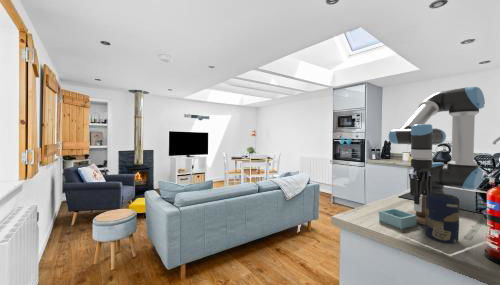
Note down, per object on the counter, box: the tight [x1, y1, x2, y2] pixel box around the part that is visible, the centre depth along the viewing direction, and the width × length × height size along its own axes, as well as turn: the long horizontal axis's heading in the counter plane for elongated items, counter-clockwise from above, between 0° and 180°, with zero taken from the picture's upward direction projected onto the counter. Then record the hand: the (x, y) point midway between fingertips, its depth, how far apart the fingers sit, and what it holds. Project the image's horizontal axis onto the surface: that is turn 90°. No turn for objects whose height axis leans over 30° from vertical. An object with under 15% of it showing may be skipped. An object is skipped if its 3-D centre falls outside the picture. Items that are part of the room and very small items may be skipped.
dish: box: [378, 208, 417, 230], centre depth 97 cm, size 10×10×5 cm
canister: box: [424, 192, 460, 244], centre depth 82 cm, size 10×10×18 cm
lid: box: [407, 195, 426, 225], centre depth 98 cm, size 11×11×10 cm
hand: (420, 210), depth 98 cm, fingers closed on lid, 4 cm apart
